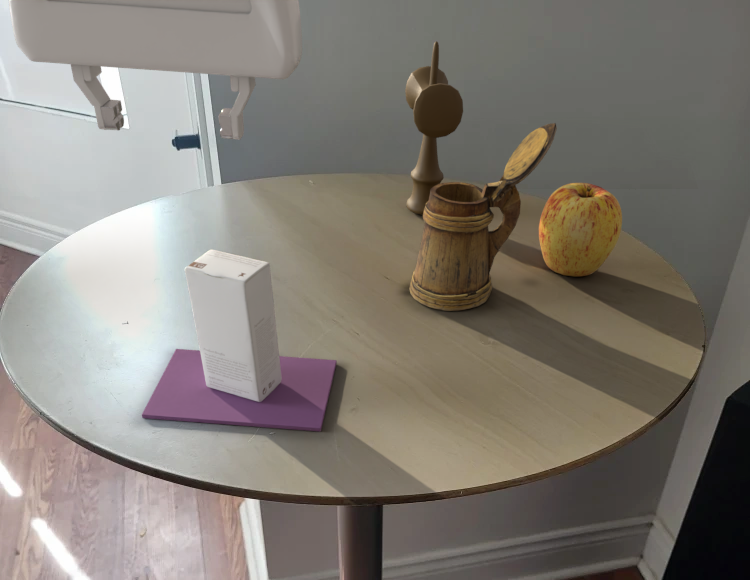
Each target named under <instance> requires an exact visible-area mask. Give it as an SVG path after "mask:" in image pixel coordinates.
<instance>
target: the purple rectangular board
mask: <svg viewBox="0 0 750 580" xmlns="http://www.w3.org/2000/svg"><path fill="white" fill-rule="evenodd" d="M279 358H280V368H281V377H282V380H281V383H280V384H279V385H278V386H277V387H276V388H275V389H274V390H273V391H272V392H271V393H270V394H269V395H268V396H267V397H266V398H265V399H264V400H262V401H261V402H257V401H254V400H250V399H247V398H244V397H240V396H237V395H234V394H230V393H227V392H223V391H220V390H217V389H213V388H210V387H207V385H206V381H205V375H204V369H203V364H202V359H201V353H200V349H187V348H186V349H185V348H175V350H174V352H173V354H172V356H171V358H170V360H169V362H168V363H167V365H166V367H165V369H164V371H163V372H162V375H161V377H160V379H159V380H158V383H157V384H156V387H155V389H154V390H153V392H152V393H151V396H150V398H149V400H148V401H147V404H146V406H145V408H144V409H143V411H142V413H141V418H142V419H149V420H165V421H176V422H188V423H201V424H214V425H215V424H216V425H227V426H228V425H229V426H244V427H254V428H255V427H256V428H267V429H281V430H282V429H283V430H295V431H307V432H309V431H310V432H322V429H323V424H324V419H325V415H326V411H327V406H328V404H329V403H328V402H329V398H330V394H331V389H332V386H333V382H334V376H335V372H336V367H337V363H338V361H337V359H326V358H314V357H313V358H311V357H297V356H284V355H282V356H281V355H279Z"/></svg>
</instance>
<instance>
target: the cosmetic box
mask: <svg viewBox="0 0 750 580" xmlns="http://www.w3.org/2000/svg"><path fill="white" fill-rule="evenodd" d="M271 272H272V270H271V264H270V261H269V262H268V261H264V260H259V259H254V258H251V257H247V256H242V255H238V254H233V253H229V252H225V251H221V250H216V249H214V248H213V249H212V248H211V249H209V250H208V251H206V252H204V253H203V254H202V255H200V256H199V257H198V258H195V260H194V261H192V262H191V263H190V264H189V265H187V266H185V268H184V275H185V279H186V285H187V289H188V295H189V300H190V305H191V310H192V315H193V321H194V326H195V331H196V332H195V333H196V338H197V343H198V348H199V350H200V353H201V359H202V364H203V369H204V375H205V381H206V385H207V387H210V388H213V389H217V390H220V391H223V392H227V393H230V394H234V395H237V396H240V397H244V398H247V399H250V400H254V401H257V402H261V401H262V400H264V399H265V398H266V397H267V396H268V395H269V394H270V393H271V392H272V391H273V390H274V389H275V388H276V387H277V386H278V385H279V384H280V383H281V380H282V377H281V368H280V358H279V356H280V348H279V341H278V332H277V321H276V319H277V318H276V309H275V303H274V302H275V301H274V291H273V284H272V273H271Z"/></svg>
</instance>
